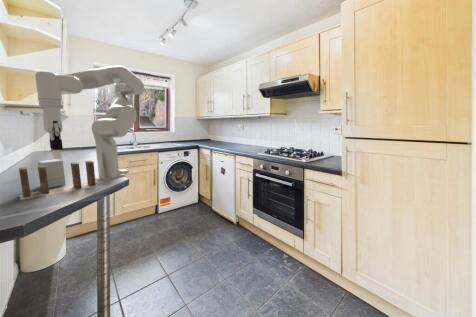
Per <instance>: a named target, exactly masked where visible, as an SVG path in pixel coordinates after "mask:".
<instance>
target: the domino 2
mask: <svg viewBox="0 0 476 317" xmlns="http://www.w3.org/2000/svg"><path fill="white" fill-rule="evenodd" d="M51 141H52V134H51ZM52 153H53V154H52V156H53V159H58V160H62V158H63V157H62V150H53V149H52Z"/></svg>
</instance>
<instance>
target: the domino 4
mask: <svg viewBox="0 0 476 317" xmlns="http://www.w3.org/2000/svg"><path fill="white" fill-rule="evenodd" d="M84 162H85V170H86V178H87V179H86V180H87V184H88V185H89V186H96V184H97V183H96V179H95V178H96V176H95V175H96V173H95V164H94V161H92V160H87V161H86V160H85V161H84Z"/></svg>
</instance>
